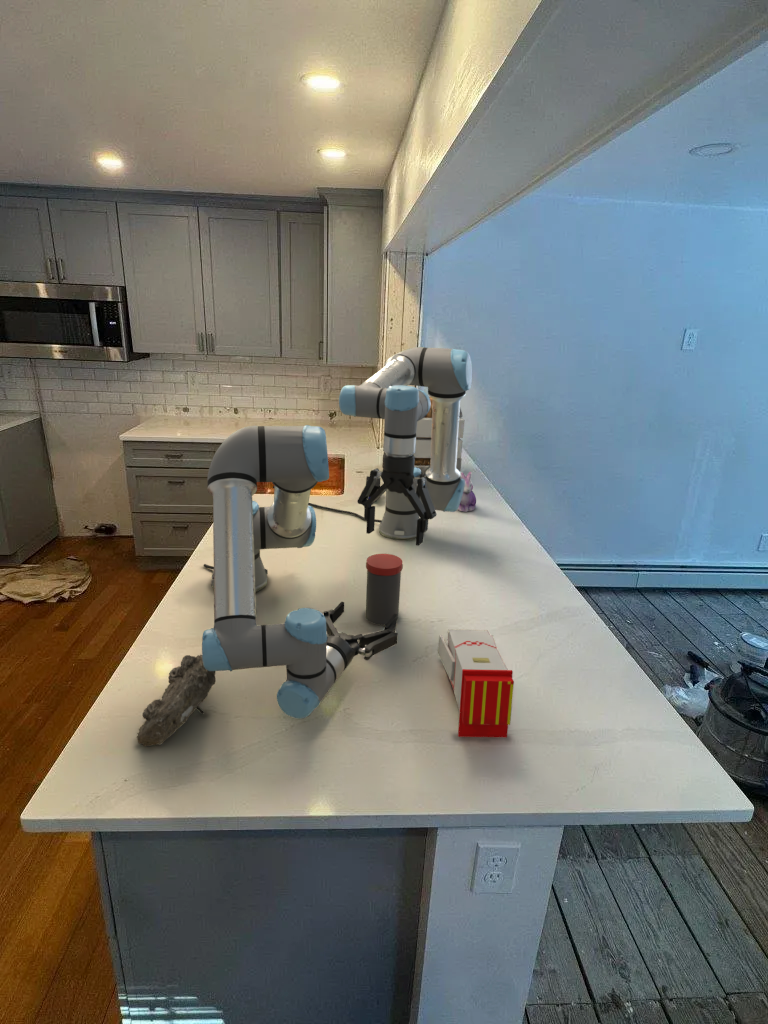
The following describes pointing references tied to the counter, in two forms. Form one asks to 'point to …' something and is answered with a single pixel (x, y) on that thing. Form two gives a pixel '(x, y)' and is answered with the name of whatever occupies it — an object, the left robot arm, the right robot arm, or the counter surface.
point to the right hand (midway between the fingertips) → (394, 537)
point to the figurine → (467, 495)
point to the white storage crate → (424, 440)
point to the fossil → (176, 701)
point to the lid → (384, 564)
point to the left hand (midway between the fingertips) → (368, 612)
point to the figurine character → (374, 486)
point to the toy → (478, 682)
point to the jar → (382, 597)
